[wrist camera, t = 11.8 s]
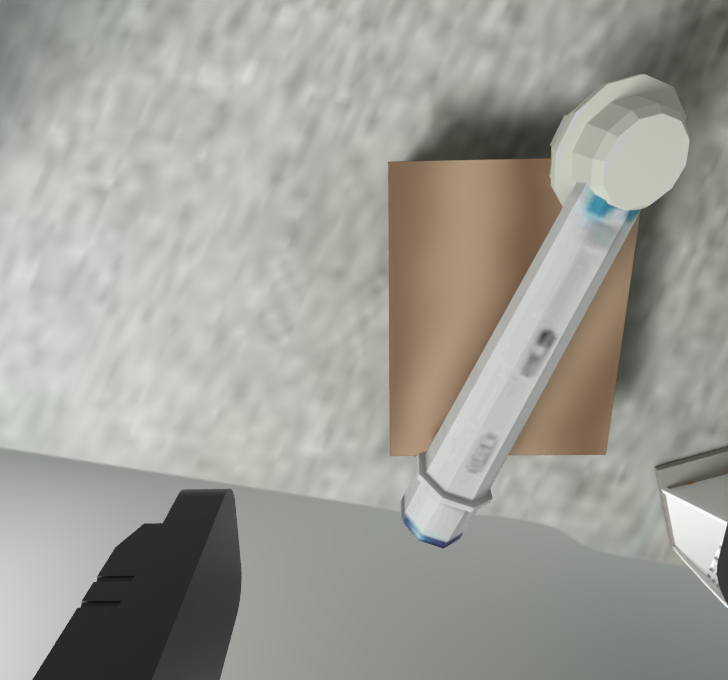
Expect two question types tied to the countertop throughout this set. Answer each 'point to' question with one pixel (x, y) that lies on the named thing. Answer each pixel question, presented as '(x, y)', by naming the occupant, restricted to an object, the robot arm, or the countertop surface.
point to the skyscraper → (697, 511)
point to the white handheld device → (551, 291)
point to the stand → (488, 301)
